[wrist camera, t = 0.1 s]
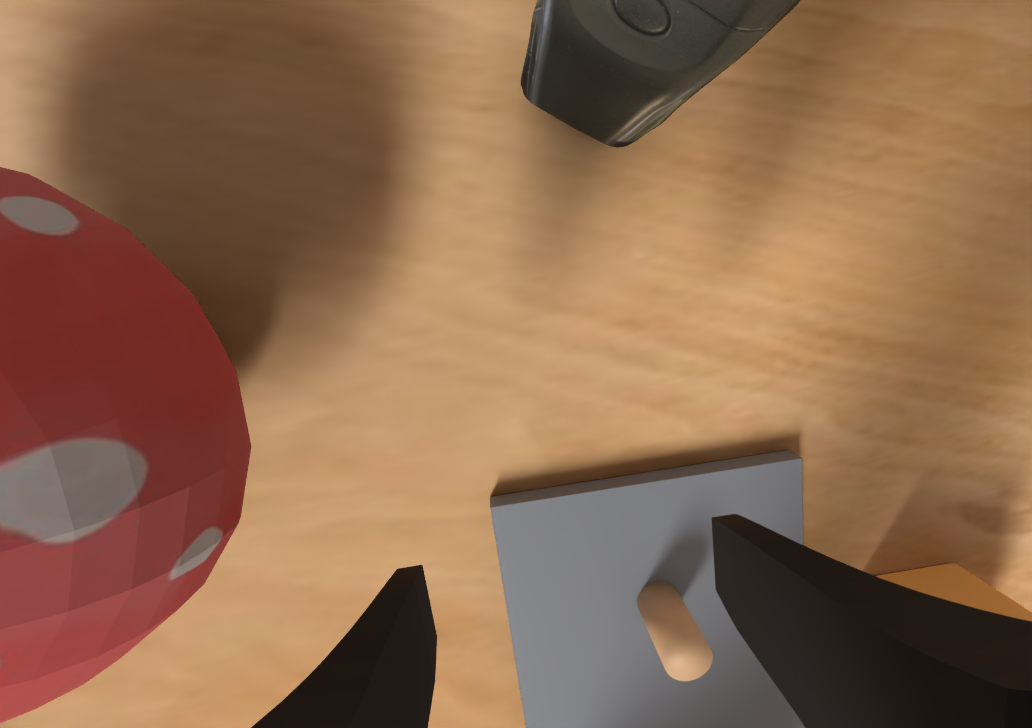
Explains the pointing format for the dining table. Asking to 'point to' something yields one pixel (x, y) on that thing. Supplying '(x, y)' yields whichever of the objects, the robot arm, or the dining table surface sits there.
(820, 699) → the robot arm
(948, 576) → the mustard yellow cube
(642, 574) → the board
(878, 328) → the dining table surface
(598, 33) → the mobile phone
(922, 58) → the dining table surface
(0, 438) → the decorative mushroom
